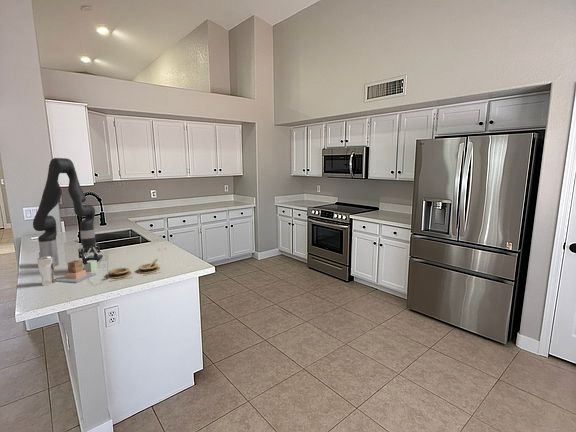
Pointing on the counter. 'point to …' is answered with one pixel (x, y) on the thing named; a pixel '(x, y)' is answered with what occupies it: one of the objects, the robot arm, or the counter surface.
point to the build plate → (75, 277)
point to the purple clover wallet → (93, 257)
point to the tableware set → (126, 272)
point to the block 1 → (75, 266)
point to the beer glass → (46, 270)
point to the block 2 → (90, 266)
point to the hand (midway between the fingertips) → (90, 262)
